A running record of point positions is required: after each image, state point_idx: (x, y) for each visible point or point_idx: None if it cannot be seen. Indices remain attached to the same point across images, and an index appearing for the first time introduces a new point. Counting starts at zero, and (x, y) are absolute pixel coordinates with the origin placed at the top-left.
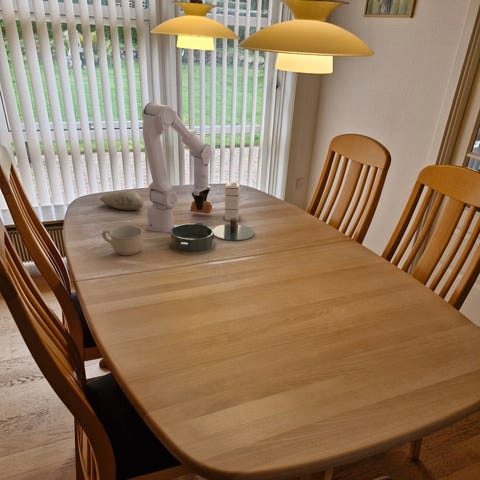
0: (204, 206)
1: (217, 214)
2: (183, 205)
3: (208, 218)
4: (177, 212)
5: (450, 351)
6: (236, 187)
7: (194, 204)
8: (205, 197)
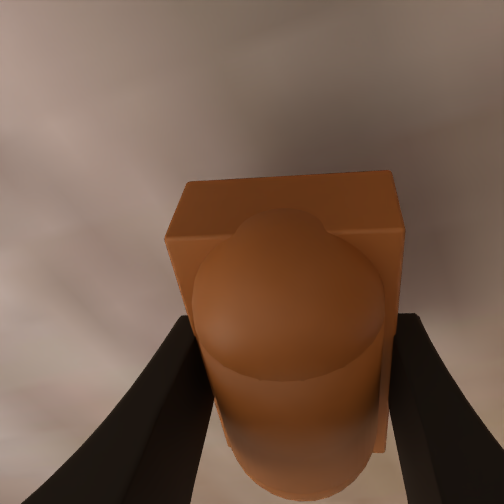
0: (383, 329)
1: (106, 69)
2: (88, 428)
3: (349, 142)
4: None
5: None
6: None
7: (371, 454)
8: (152, 452)
